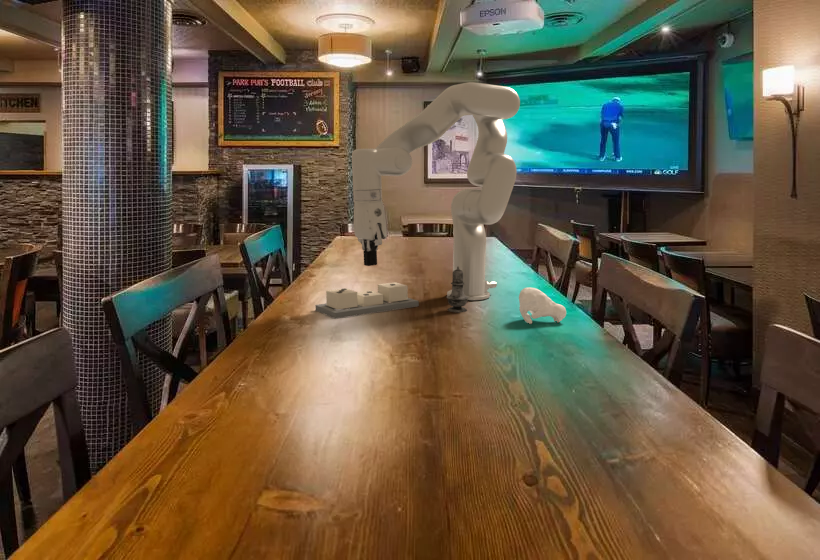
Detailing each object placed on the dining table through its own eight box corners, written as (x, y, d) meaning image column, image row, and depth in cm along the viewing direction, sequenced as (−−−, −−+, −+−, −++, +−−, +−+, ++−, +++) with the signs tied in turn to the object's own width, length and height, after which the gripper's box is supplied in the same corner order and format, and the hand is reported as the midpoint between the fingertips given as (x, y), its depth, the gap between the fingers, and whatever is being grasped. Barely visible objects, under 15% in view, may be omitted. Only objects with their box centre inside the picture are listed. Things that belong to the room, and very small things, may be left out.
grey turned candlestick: (466, 313, 163) (467, 268, 161) (444, 312, 164) (445, 267, 162) (469, 308, 169) (470, 264, 167) (447, 307, 170) (448, 264, 168)
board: (315, 310, 165) (315, 304, 165) (396, 299, 180) (396, 294, 180) (335, 318, 156) (334, 312, 156) (418, 306, 171) (418, 300, 171)
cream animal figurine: (519, 284, 157) (567, 290, 156) (515, 316, 158) (562, 322, 157) (521, 289, 151) (570, 295, 149) (516, 322, 152) (565, 329, 151)
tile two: (371, 304, 172) (371, 290, 171) (383, 308, 167) (383, 293, 167) (352, 307, 169) (352, 292, 168) (364, 311, 164) (363, 296, 163)
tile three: (346, 302, 167) (346, 287, 167) (357, 306, 163) (357, 291, 162) (326, 305, 164) (326, 289, 163) (337, 309, 159) (337, 293, 158)
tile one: (395, 296, 176) (395, 281, 176) (407, 299, 172) (407, 284, 171) (377, 298, 173) (377, 283, 172) (389, 302, 168) (389, 287, 167)
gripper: (395, 196, 159) (397, 267, 162) (365, 194, 171) (368, 260, 175) (370, 198, 155) (373, 270, 158) (341, 196, 167) (344, 263, 170)
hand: (370, 265), depth 166 cm, fingers closed
